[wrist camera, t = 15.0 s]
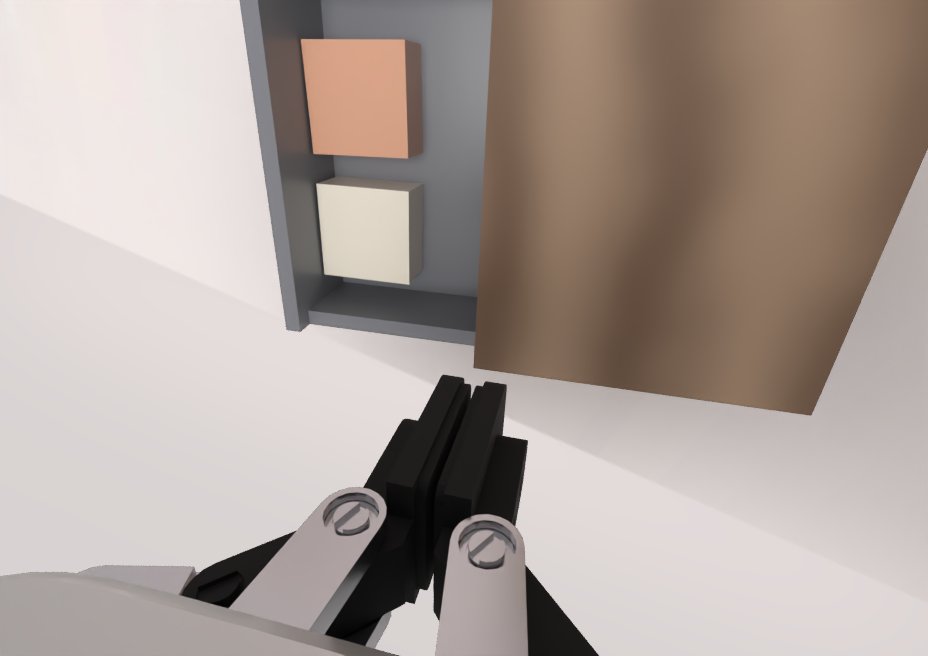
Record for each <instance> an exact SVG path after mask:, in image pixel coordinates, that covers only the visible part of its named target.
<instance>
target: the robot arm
mask: <svg viewBox="0 0 928 656" xmlns="http://www.w3.org/2000/svg"><path fill="white" fill-rule="evenodd" d="M506 389H507V386H506V385H505V384H499V383H493V382H485V383H484V386H483V387H482V386H476V388H475V390H474V393H473V395H472V398H471V385H470V384H464V378H461V377H455V376H448V375H442V376H441V378H440V380H439V382H438V384H437V386H436V388H435V390H434V391H433V394H432V395H431V397H430V399H429V401H428V403H427V405H426V407H425V409H424V411H423V412H422V414H421V416H420V418H419V420H418V421H416V420H411V419H404V420H403V421H402V422H401V423H400V425H399V426H398V428H397V430H396V432H395V433H394V435H393V437H392V439H391V440H390V442H389V444H388V446H387V447H386V449H385V451H384V452H383V454H382V456H381V458H380V459H379V461H378V463H377V465H376V466H375V468H374V470H373V472H372V473H371V475H370V477H369V478H368V480H367V482H366V484H365V485H364V487H363V488H361V487H352V488H346V489H343V490H339V491H337V492H335V493H333V494H332V495H329V496H328V497H327V498H326V499H325V500H324V501H323V502H322V503H321V504H320V505H319V506H318V507H317V508H316V509H315V511H314V512H313V513H312V514H311V515H310V516H309V517H308V519H307V520H306V521H305V522H304V523H303V524H302V525H301V526H300V528H299V529H298V530H297V531H294V532H292V533H289V534H287V535H284V536H282V537H280V538H277V539H275V540H272V541H270V542H267V543H265V544H262V545H260V546H257V547H255V548H252V549H250V550H247V551H245V552H242V553H240V554H237V555H235V556H232V557H230V558H227V559H225V560H222V561H220V562H218V563H215V564H213V565H212V566H209V567H208V568H206V569H204V570H202V571H201V572H196V571H195V568H194V567H184V566H183V567H182V566H113V565H111V566H110V565H105V566H97V567H92V568H89V569H86V570H84V571H81V572H79V573H68V572H30V573H21V574H14V575H6V576H0V656H398V655H395V654H391V653H387V652H384V651H380V650H376V649H375V647H376V645H377V643H378V642H379V640H380V638H381V636H382V634H383V632H384V630H385V629H386V627H387V625H388V623H389V620H390V617H391V611H392V610H394V609H396V608H398V607H400V606H401V605H403V604H405V602H409V603H413V604H415V601H416V598H417V595H418V593H419V590H420V589H423V590H428V588H429V585H430V582H431V579H432V576H433V573H434V613H435V614H436V616H437V618H438V620H439V630H438V637H437V645H436V652H435V656H599V655H598V654H597V653H596V651H595V650H594V649H593V648H592V646H591V645H590V644H589V643H588V642H587V640H586V639H585V638H584V637H583V635H582V634H581V633H580V632H579V630H578V629H577V628H576V627H575V626H574V624H573V623H572V622H571V620H570V619H569V618H568V617H567V616H566V615H565V613H564V612H563V611H562V610H561V608H560V607H559V606H558V604H557V603H556V602H555V601H554V599H553V598H552V597H551V596H550V595H549V593H548V592H547V591H546V590H545V588H544V587H543V586H542V585H541V583H540V582H539V581H538V580H537V578H536V577H535V576H534V575H533V574H532V572H531V571H530V570H529V569H528V567H527V566H526V565H525V547H524V542H523V538H522V536H521V534H520V533H519V531H518V529H517V528H516V527H515V524H516V519H517V513H518V508H519V502H520V497H521V490H522V484H523V476H524V470H525V461H526V454H527V445H528V441H527V440H523V439H517V438H511V437H506V436H502V434H503V423H504V412H505V401H506Z"/></svg>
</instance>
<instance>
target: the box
mask: <svg viewBox="0 0 928 656" xmlns="http://www.w3.org/2000/svg"><path fill="white" fill-rule="evenodd" d="M492 3H493V0H240V6H241V13H242V20H243V27H244V34H245V41H246V48H247V55H248V62H249V69H250V77H251V84H252V91H253V98H254V105H255V112H256V119H257V126H258V133H259V140H260V147H261V154H262V161H263V168H264V175H265V182H266V189H267V196H268V203H269V210H270V217H271V224H272V231H273V238H274V245H275V252H276V259H277V266H278V273H279V280H280V287H281V294H282V301H283V308H284V315H285V322H286V329H287V330H291V331H298V332H301V331H302V330H303V329H304V328H305V327H306V326H308V325H309V324H315V325H322V326H330V327H337V328H345V329H352V330H360V331H367V332H375V333H382V334H390V335H397V336H405V337H412V338H420V339H428V340H435V341H443V342H450V343H458V344H465V345H473V346H475V331H476V312H477V293H478V274H479V254H480V235H481V216H482V196H483V177H484V158H485V138H486V119H487V100H488V81H489V61H490V42H491V23H492ZM301 39H398V40H408V41H411V42H415V43H418V44H421V81H422V140H423V153H421V154H418V155H416V156H413V157H411V158H387V157H367V156H347V155H327V154H313V145H312V136H311V127H310V118H309V109H308V100H307V91H306V82H305V73H304V64H303V55H302V46H301ZM336 176H342V177H353V178H365V179H377V180H389V181H400V182H412V183H423V221H422V271H421V272H420V273H419V274H418V275H417V276H416V278H415V279H414V280H413V281H412V282H411V283H410V284H409V285H407V284H399V283H391V282H383V281H375V280H366V279H358V278H350V277H342V276H334V275H325V274H324V263H323V252H322V241H321V230H320V219H319V208H318V196H317V185H316V184H317V183H319V182H322V181H325V180H328V179H331V178H334V177H336Z"/></svg>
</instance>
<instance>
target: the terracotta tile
mask: <svg viewBox="0 0 928 656" xmlns="http://www.w3.org/2000/svg"><path fill="white" fill-rule="evenodd" d="M301 46H302V55H303V64H304V73H305V82H306V91H307V100H308V109H309V118H310V127H311V136H312V145H313V154H327V155H347V156H367V157H387V158H411V157H413V156H416V155H418V154H421V153H423V140H422V81H421V44H418V43H415V42H411V41H408V40H398V39H301Z"/></svg>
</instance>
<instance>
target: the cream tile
mask: <svg viewBox="0 0 928 656" xmlns="http://www.w3.org/2000/svg"><path fill="white" fill-rule="evenodd" d="M316 185H317V196H318V208H319V219H320V230H321V241H322V252H323V263H324V274H325V275H334V276H342V277H350V278H358V279H366V280H375V281H383V282H391V283H399V284H407V285H409V284H410V283H411V282H412V281H413V280H414V279H415V278H416V276H417V275H418V274H419V273H420V272H421V271H422V221H423V183H412V182H400V181H389V180H377V179H365V178H353V177H342V176H336V177H334V178H331V179H328V180H325V181H322V182H319V183H317V184H316Z"/></svg>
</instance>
